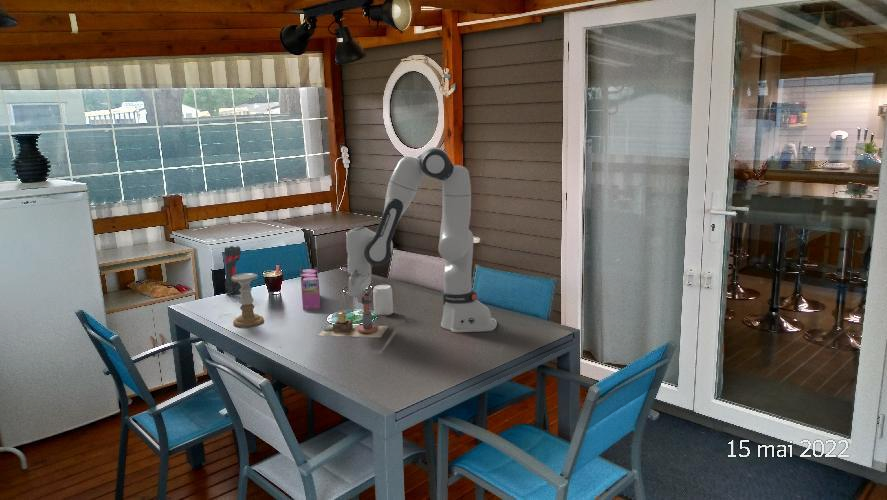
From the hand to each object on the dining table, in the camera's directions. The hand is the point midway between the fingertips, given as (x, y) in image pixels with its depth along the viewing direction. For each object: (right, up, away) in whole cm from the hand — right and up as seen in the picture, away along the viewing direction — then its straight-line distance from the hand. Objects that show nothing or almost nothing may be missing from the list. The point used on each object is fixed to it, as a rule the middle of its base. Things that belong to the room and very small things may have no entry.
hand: (360, 301), depth 255 cm
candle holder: (-49, -10, +13) cm, 51 cm away
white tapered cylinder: (+7, -7, +20) cm, 22 cm away
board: (-2, -12, -4) cm, 13 cm away
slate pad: (-12, -11, -2) cm, 17 cm away
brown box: (-7, -11, -3) cm, 13 cm away
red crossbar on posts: (+3, -10, -1) cm, 10 cm away
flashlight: (-69, -1, +59) cm, 90 cm away
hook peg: (-7, -11, -3) cm, 13 cm away
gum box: (-28, -4, +40) cm, 49 cm away
